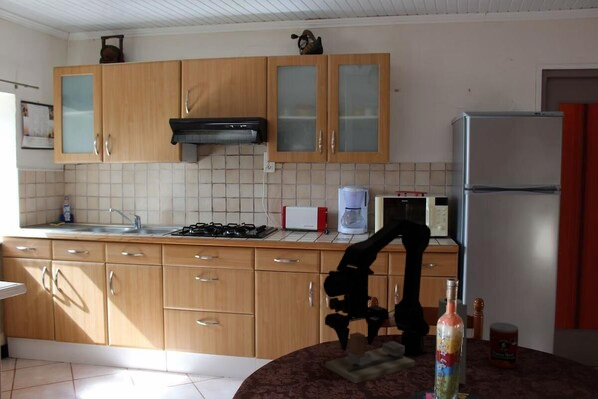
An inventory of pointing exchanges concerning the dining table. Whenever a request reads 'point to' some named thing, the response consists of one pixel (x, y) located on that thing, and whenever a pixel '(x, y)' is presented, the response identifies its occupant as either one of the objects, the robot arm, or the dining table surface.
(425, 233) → the robot arm
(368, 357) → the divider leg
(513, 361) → the canned food
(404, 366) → the board
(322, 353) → the dining table surface
